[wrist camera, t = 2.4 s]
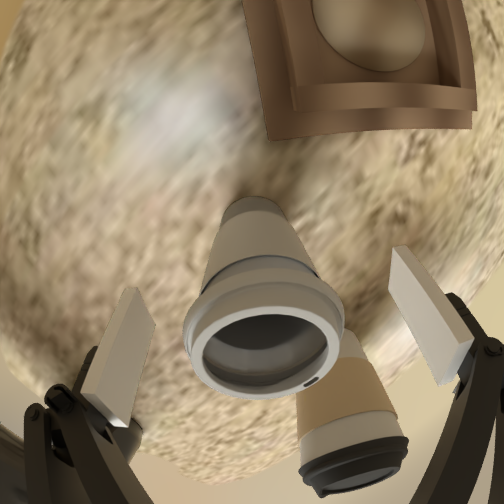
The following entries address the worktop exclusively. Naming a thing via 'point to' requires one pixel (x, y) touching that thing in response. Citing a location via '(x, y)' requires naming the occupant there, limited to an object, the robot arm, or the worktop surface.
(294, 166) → the worktop surface
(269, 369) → the cup
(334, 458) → the coffee cup
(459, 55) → the holder
